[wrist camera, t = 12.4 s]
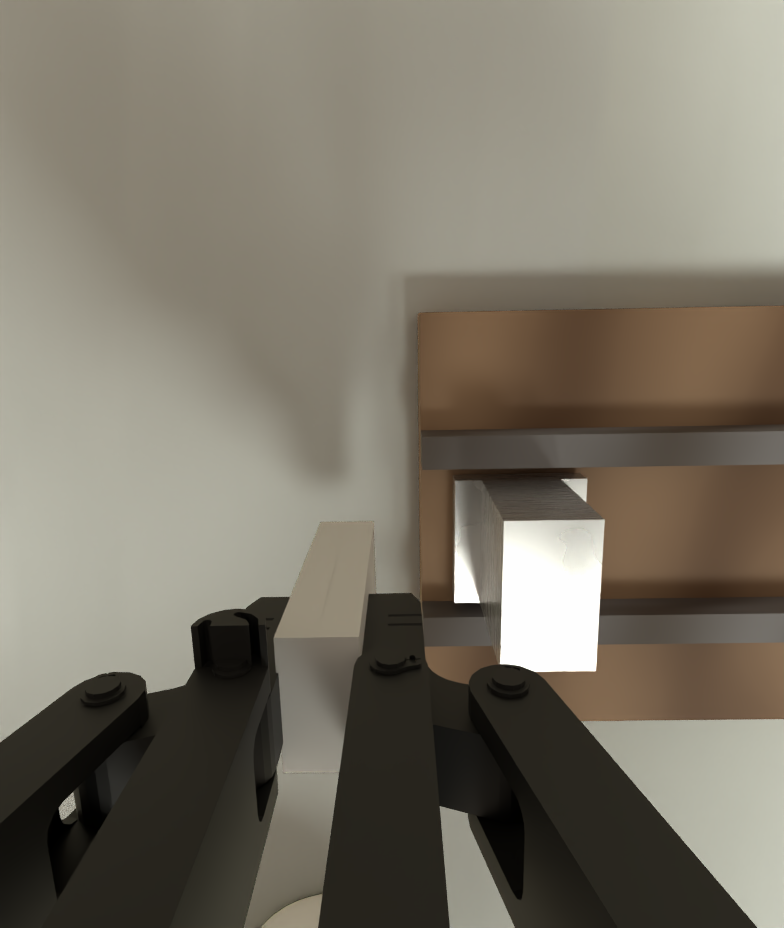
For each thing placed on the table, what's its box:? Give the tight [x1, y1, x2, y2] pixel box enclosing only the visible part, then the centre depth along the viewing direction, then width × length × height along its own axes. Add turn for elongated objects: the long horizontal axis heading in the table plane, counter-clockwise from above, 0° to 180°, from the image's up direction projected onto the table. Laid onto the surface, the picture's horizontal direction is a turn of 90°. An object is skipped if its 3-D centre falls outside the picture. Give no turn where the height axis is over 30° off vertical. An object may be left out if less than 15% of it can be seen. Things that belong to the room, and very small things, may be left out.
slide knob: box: [452, 473, 605, 672], centre depth 17 cm, size 4×4×5 cm
